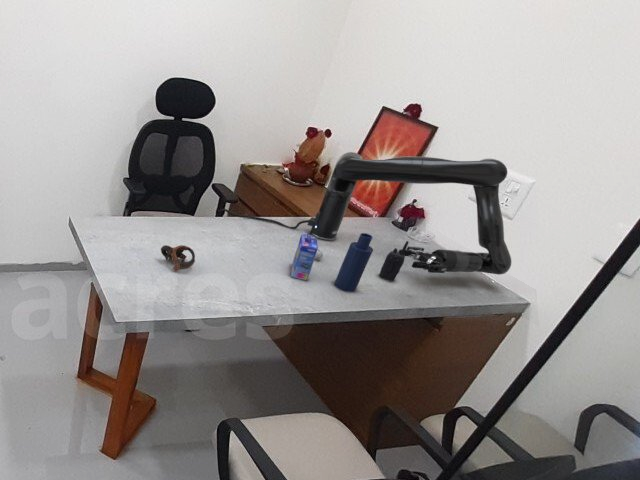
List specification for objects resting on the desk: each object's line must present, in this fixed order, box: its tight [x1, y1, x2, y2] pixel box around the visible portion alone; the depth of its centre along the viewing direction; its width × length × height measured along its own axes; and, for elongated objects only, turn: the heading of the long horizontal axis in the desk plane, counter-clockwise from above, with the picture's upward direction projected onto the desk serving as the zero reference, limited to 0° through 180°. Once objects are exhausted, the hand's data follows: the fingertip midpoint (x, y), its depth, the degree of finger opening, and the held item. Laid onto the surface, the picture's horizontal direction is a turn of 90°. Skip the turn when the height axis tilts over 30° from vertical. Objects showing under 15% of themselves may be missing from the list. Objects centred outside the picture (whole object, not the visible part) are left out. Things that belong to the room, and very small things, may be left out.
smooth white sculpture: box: [314, 248, 324, 261], centre depth 189 cm, size 4×8×5 cm
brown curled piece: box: [160, 244, 196, 272], centre depth 173 cm, size 12×10×8 cm
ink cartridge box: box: [290, 231, 319, 281], centre depth 174 cm, size 10×6×14 cm, turn 161°
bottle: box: [334, 232, 374, 293], centre depth 168 cm, size 7×7×19 cm
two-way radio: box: [378, 240, 410, 282], centre depth 176 cm, size 6×4×15 cm
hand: (405, 258), depth 176 cm, fingers open, 8 cm apart
